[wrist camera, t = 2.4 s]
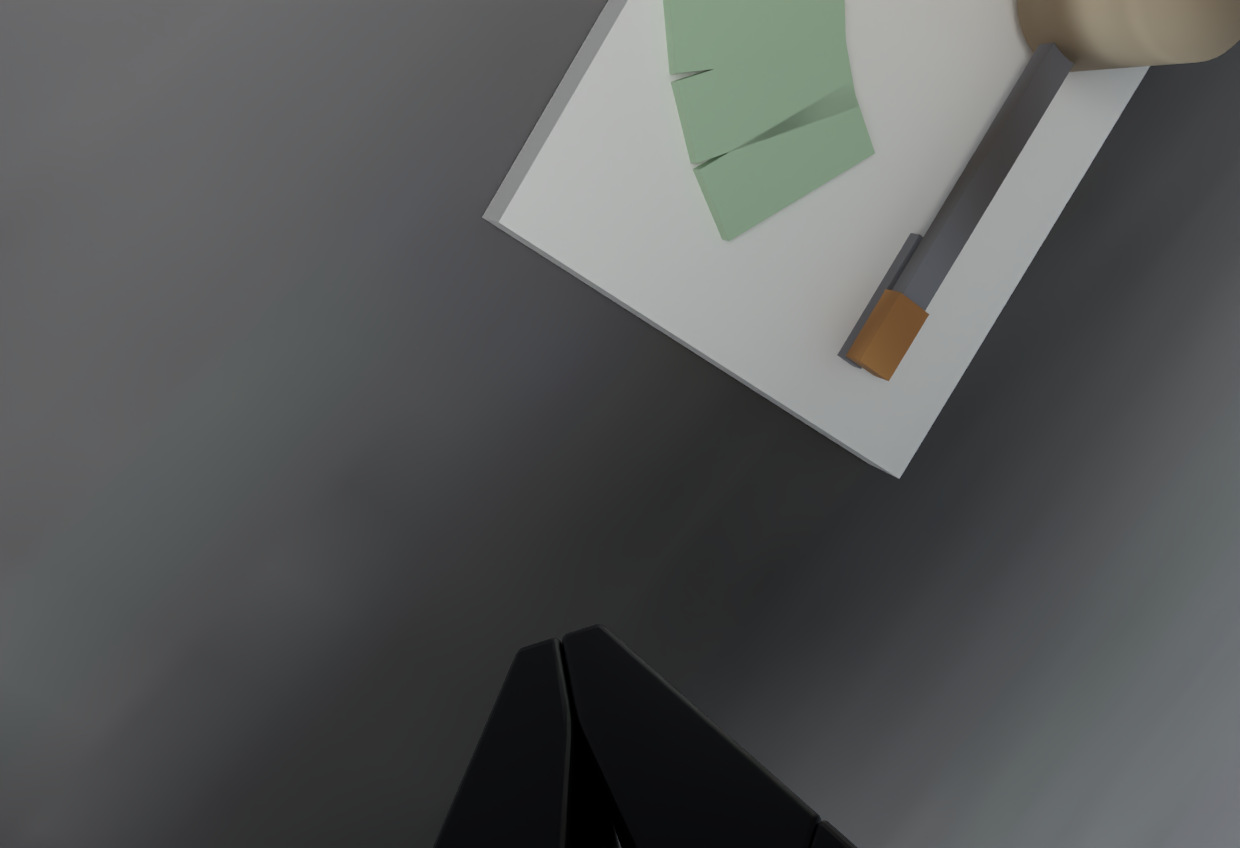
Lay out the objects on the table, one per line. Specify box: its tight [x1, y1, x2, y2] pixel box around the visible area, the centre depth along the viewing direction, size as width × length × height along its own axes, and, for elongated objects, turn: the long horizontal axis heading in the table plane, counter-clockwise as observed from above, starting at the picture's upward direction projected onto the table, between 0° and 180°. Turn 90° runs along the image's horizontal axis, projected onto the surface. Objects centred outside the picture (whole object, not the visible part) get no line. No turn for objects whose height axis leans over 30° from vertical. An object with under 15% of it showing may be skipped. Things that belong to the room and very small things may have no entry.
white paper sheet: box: [482, 0, 1150, 479], centre depth 20 cm, size 13×11×2 cm
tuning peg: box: [846, 0, 1240, 381], centre depth 15 cm, size 11×11×8 cm
